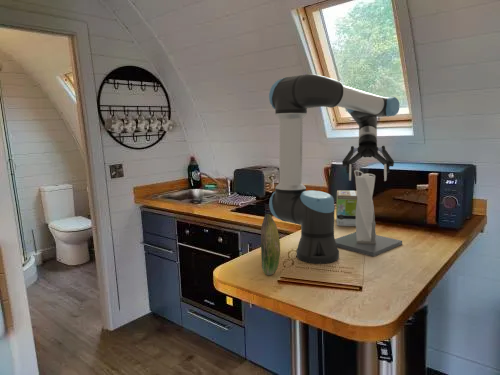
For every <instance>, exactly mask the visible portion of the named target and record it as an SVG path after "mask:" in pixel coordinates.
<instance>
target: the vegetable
mask: <svg viewBox="0 0 500 375" xmlns="http://www.w3.org/2000/svg"><path fill="white" fill-rule="evenodd" d="M280 241H281V240H280V235H279V231H278V227H277V223H276V222H275V220H274V218H273V216H272V214H268V213H266V214H265V215H264V216H263V221H262V223H261V228H260V249H261V250H260V254H261V255H260V256H261V270H262V272H263V273H264V274H265V275H267V276H272V275H273V274H275V273H276V271H277V269H278V267H279V263H280V257H281V242H280Z"/></svg>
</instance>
